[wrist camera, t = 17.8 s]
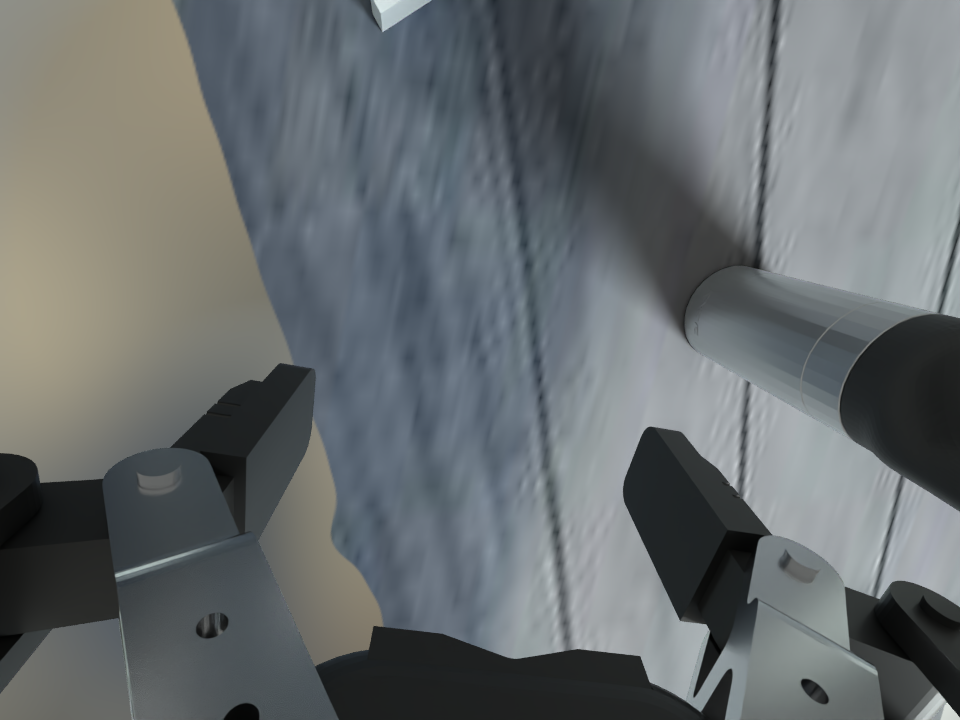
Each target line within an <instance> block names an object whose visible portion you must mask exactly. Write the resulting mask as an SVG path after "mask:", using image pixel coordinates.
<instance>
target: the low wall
mask: <svg viewBox="0 0 960 720" xmlns="http://www.w3.org/2000/svg"><path fill="white" fill-rule="evenodd" d="M430 1H431V0H371V6H372V13H373V16H374V18H375V19H376V21H377V23H378V25H379V27H380V28H381V30H382V32H384V31H385V30H387V29H388V28H390V27H391V26H393V25H394V24H396V23H398V22H399V21H401V20H402V19H404V18H405V17H407V16H408V15H410V14H411V13H413V12H414V11H416V10H418V9H419V8H421V7H422V6H424V5H425V4H427V3H428V2H430Z"/></svg>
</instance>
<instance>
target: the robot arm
mask: <svg viewBox="0 0 960 720" xmlns="http://www.w3.org/2000/svg"><path fill="white" fill-rule="evenodd" d="M684 327H685V332H686V336H687V339H688V341H689V343H690V344H691V346H692V347H693V348H694V349H695V350H696V351H697V352H699V353H700V354H702V355H703V356H705V357H707V358H709V359H710V360H712V361H714V362H716V363H717V364H719V365H721V366H723V367H724V368H726V369H728V370H729V371H731V372H733V373H735V374H736V375H738V376H740V377H742V378H743V379H745V380H747V381H749V382H750V383H752V384H754V385H756V386H757V387H759V388H761V389H763V390H764V391H766V392H768V393H770V394H772V395H773V396H775V397H777V398H779V399H780V400H782V401H784V402H786V403H787V404H789V405H791V406H793V407H794V408H796V409H798V410H800V411H801V412H803V413H805V414H807V415H808V416H810V417H812V418H814V419H816V420H817V421H819V422H821V423H823V424H825V425H826V426H828V427H830V428H832V429H833V430H835V431H837V432H839V433H840V434H842V435H844V436H846V437H847V438H849V439H851V440H853V441H855V442H856V443H858V444H859V445H861V446H863V447H865V448H866V449H868V450H870V451H871V452H873V453H874V454H875V455H876V456H877V457H878V458H879V459H880V460H881V461H882V462H883V463H884V464H886V465H887V466H888V467H890V468H891V469H893V470H894V471H896V472H897V473H899V474H900V475H902V476H904V477H905V478H907V479H909V480H910V481H912V482H914V483H915V484H917V485H919V486H920V487H922V488H924V489H925V490H927V491H928V492H930V493H932V494H933V495H935V496H936V497H938V498H939V499H941V500H942V501H944V502H946V503H947V504H949V505H950V506H952V507H953V508H955V509H957V510H958V511H960V318H956V317H952V316H948V315H942V314H939V313H935V312H931V311H927V310H923V309H919V308H914V307H910V306H906V305H902V304H898V303H894V302H889V301H885V300H881V299H877V298H873V297H869V296H865V295H861V294H856V293H852V292H848V291H844V290H840V289H836V288H832V287H828V286H824V285H820V284H816V283H812V282H808V281H804V280H800V279H796V278H791V277H787V276H783V275H780V274H776V273H772V272H768V271H764V270H760V269H756V268H751V267H746V266H731V267H728V268H724V269H721V270H719V271H717V272H716V273H714V274H712V275H711V276H710V277H708V278H707V279H706V280H704V281H703V283H702V284H701V285H700V286H699V287H698V288H697V289H696V291H695V292H694V294H693V295H692V297H691V299H690V301H689V304H688V306H687V309H686V314H685V325H684ZM315 379H316V375H315V370H314V369H312V368H306V367H300V366H294V365H288V364H282V363H280V364H278V365H277V366H276V367H275V369H274V370H273V371H272V372H271V373H270V374H269V375H268V376H267V377H266V379H265V380H264V381H263V382H260V381H253V380H250V381H247V382H245V383H243V384H241V385H238V386H236V387H234V388H232V389H230V390H229V391H228V392H227V393H226V394H225V395H224V396H223V397H222V398H221V399H220V400H219V401H218V403H217V404H214V405H213V406H212V407H211V408H210V409H209V410H208V411H207V414H206V415H205V414H204V415H203V416H202V417H201V418H200V419H199V420H198V421H197V422H196V423H195V424H194V425H193V426H192V427H191V428H190V429H189V430H188V431H187V432H186V433H185V434H184V435H183V436H182V437H181V438H180V439H179V440H178V441H176V442H175V444H173V445H172V446H171V447H170V448H160V449H153V450H149V451H144V452H141V453H137V454H135V455H132V456H130V457H127V458H125V459H124V460H122V461H120V462H118V463H117V464H115V465H114V466H113V467H112V468H111V469H109V470H108V472H107V473H106V474H105V476H104V478H103V479H97V480H84V481H83V480H82V481H65V482H50V483H40V480H39V474H38V469H37V466H36V465H35V463H34V462H33V461H32V460H30V459H28V458H26V457H23V456H20V455H14V454H4V453H0V693H1V692H2V691H3V689H4V688H5V687H6V686H7V685H8V683H9V682H10V681H11V680H12V678H13V677H14V676H15V674H16V673H17V672H18V671H19V670H20V668H21V667H22V666H23V665H24V663H25V662H26V661H27V660H28V658H29V657H30V656H31V655H32V653H33V652H34V651H35V650H36V648H37V647H38V646H39V645H40V643H41V642H42V641H43V640H44V638H45V637H46V636H47V635H48V633H49V632H50V631H51V630H52V629H53V628H59V627H65V626H71V625H78V624H84V623H90V622H97V621H103V620H109V619H115V618H119V626H120V632H121V640H122V648H123V655H124V662H125V670H126V677H127V685H128V692H129V700H130V708H131V715H132V720H931V719H932V718H933V717H934V716H935V715H936V714H937V713H938V712H939V711H940V710H941V708H942V707H943V706H944V705H945V704H946V703H948V704H949V705H950V706H951V707H952V709H953V710H954V711H955V712H956V713H957V714H958V716H959V717H960V607H958V606H957V605H956V604H954V603H953V602H951V601H949V600H948V599H946V598H945V597H943V596H941V595H939V594H937V593H935V592H933V591H931V590H929V589H927V588H925V587H922V586H920V585H917V584H914V583H910V582H906V581H895V582H892V583H891V584H890V586H889V587H888V589H887V590H886V591H885V593H884V594H883V595H882V597H881V598H880V599H877V598H875V597H872V596H869V595H866V594H864V593H861V592H858V591H855V590H853V589H850V588H847V587H844V583H843V581H842V579H841V577H840V576H839V574H838V573H837V572H836V570H835V569H834V568H833V567H832V566H831V565H830V564H829V563H828V562H827V561H825V560H824V559H823V558H822V557H820V556H819V555H818V554H816V553H815V552H813V551H812V550H810V549H808V548H807V547H805V546H803V545H801V544H799V543H797V542H795V541H792V540H790V539H787V538H783V537H779V536H773V535H772V534H771V533H770V532H769V530H768V529H767V528H766V527H765V526H764V524H763V523H762V522H761V521H760V520H759V518H758V517H757V516H756V515H755V513H754V512H753V511H752V510H751V509H750V507H749V506H748V505H747V504H746V503H745V501H744V500H743V499H740V495H739V494H738V493H737V492H736V490H735V489H734V488H733V487H732V486H730V483H729V482H728V481H727V480H726V478H725V477H724V476H723V475H722V473H721V472H720V471H719V470H718V469H717V468H716V467H715V466H713V465H712V464H711V463H710V462H708V461H707V460H706V459H704V458H703V457H702V456H700V454H699V453H698V452H697V451H696V449H695V448H694V447H693V446H692V444H691V443H690V442H689V441H688V439H687V438H686V437H685V436H684V434H683V433H681V432H679V431H674V430H668V429H662V428H656V427H648V428H647V429H646V430H645V431H644V432H643V434H642V436H641V439H640V441H639V444H638V446H637V449H636V451H635V454H634V457H633V459H632V462H631V464H630V467H629V469H628V472H627V474H626V477H625V480H624V486H623V497H624V502H625V505H626V507H627V509H628V511H629V513H630V515H631V517H632V520H633V522H634V524H635V526H636V528H637V530H638V532H639V534H640V537H641V539H642V541H643V543H644V545H645V547H646V549H647V551H648V554H649V556H650V558H651V560H652V562H653V564H654V566H655V568H656V571H657V573H658V575H659V577H660V579H661V581H662V583H663V585H664V588H665V590H666V592H667V594H668V596H669V598H670V600H671V602H672V605H673V607H674V609H675V611H676V613H677V615H678V617H679V619H680V621H684V622H692V623H700V624H707V626H708V628H709V631H708V633H707V634H706V636H705V638H704V640H703V642H702V645H701V648H700V652H699V655H698V659H697V663H696V666H695V670H694V673H693V677H692V680H691V684H690V688H689V691H688V695H687V698H686V701H684V700H683V699H681V698H679V697H678V696H676V695H675V694H673V693H671V692H669V691H667V690H665V689H663V688H661V687H659V686H657V685H655V684H652V683H650V682H649V680H648V677H647V674H646V671H645V668H644V666H643V663H642V660H641V657H640V656H633V655H625V654H616V653H607V652H598V651H589V650H581V649H576V650H570V651H564V652H557V653H551V654H545V655H539V656H533V657H527V658H521V659H511V658H507V657H504V656H501V655H498V654H496V653H493V652H490V651H488V650H485V649H482V648H479V647H477V646H474V645H471V644H469V643H466V642H463V641H460V640H458V639H455V638H452V637H450V636H447V635H444V634H439V633H431V632H422V631H413V630H404V629H395V628H387V627H378V626H374V627H373V632H372V637H371V642H370V647H369V650H365V651H359V652H353V653H350V654H346V655H342V656H339V657H336V658H333V659H331V660H329V661H326V662H324V663H321V664H319V665H317V666H314V664H313V662H312V659H311V657H310V655H309V653H308V651H307V648H306V646H305V644H304V642H303V639H302V637H301V635H300V633H299V631H298V628H297V626H296V624H295V622H294V620H293V617H292V615H291V613H290V611H289V609H288V606H287V604H286V602H285V600H284V597H283V595H282V593H281V591H280V588H279V586H278V584H277V582H276V580H275V577H274V575H273V573H272V571H271V569H270V566H269V564H268V562H267V560H266V557H265V555H264V553H263V551H262V549H261V546H260V544H259V542H258V540H259V538H260V536H261V534H262V532H263V530H264V528H265V527H266V525H267V523H268V521H269V519H270V517H271V516H272V514H273V512H274V510H275V508H276V506H277V505H278V503H279V501H280V499H281V497H282V495H283V493H284V492H285V490H286V488H287V486H288V484H289V483H290V481H291V479H292V477H293V475H294V473H295V471H296V470H297V468H298V466H299V464H300V462H301V460H302V459H303V457H304V455H305V452H306V450H307V447H308V444H309V440H310V435H311V429H312V417H313V405H314V392H315Z"/></svg>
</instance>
